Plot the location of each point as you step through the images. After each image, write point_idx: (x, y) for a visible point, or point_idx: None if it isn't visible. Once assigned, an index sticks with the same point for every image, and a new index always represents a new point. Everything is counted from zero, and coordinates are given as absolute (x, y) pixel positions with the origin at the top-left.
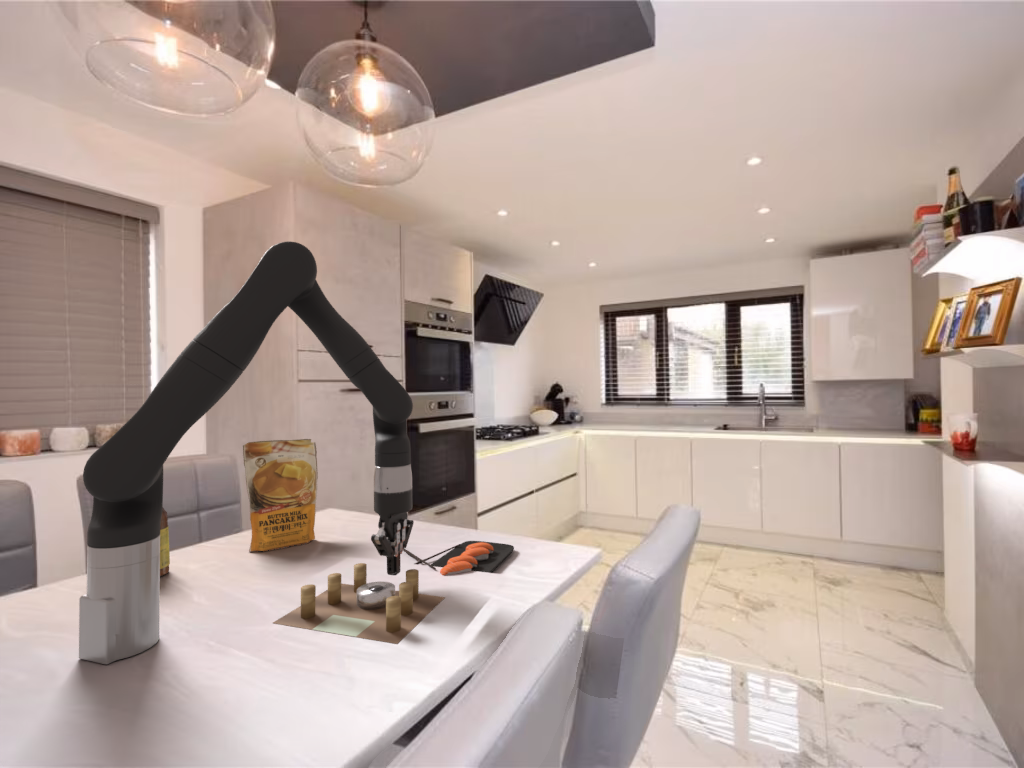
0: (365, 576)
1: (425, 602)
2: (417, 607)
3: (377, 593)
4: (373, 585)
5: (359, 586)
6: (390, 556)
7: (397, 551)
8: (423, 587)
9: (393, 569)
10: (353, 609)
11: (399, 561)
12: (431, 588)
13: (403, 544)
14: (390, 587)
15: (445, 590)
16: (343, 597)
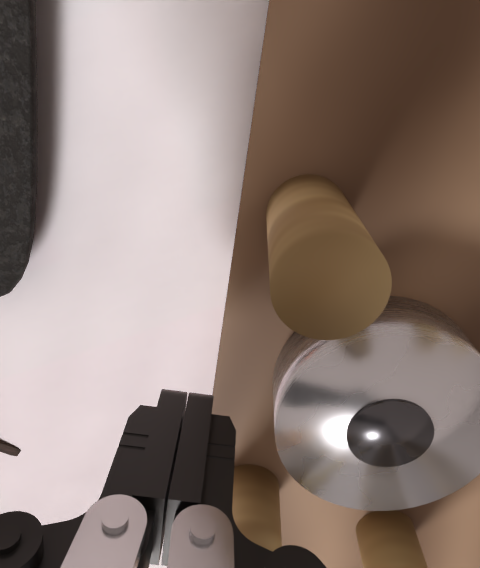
0: (252, 532)
1: (379, 97)
2: (459, 127)
3: (461, 403)
4: (338, 458)
5: (279, 507)
6: (311, 557)
7: (185, 548)
8: (45, 218)
9: (230, 438)
10: None
11: (162, 450)
12: (42, 164)
13: (28, 566)
14: (366, 365)
15: (41, 54)
16: (332, 516)
